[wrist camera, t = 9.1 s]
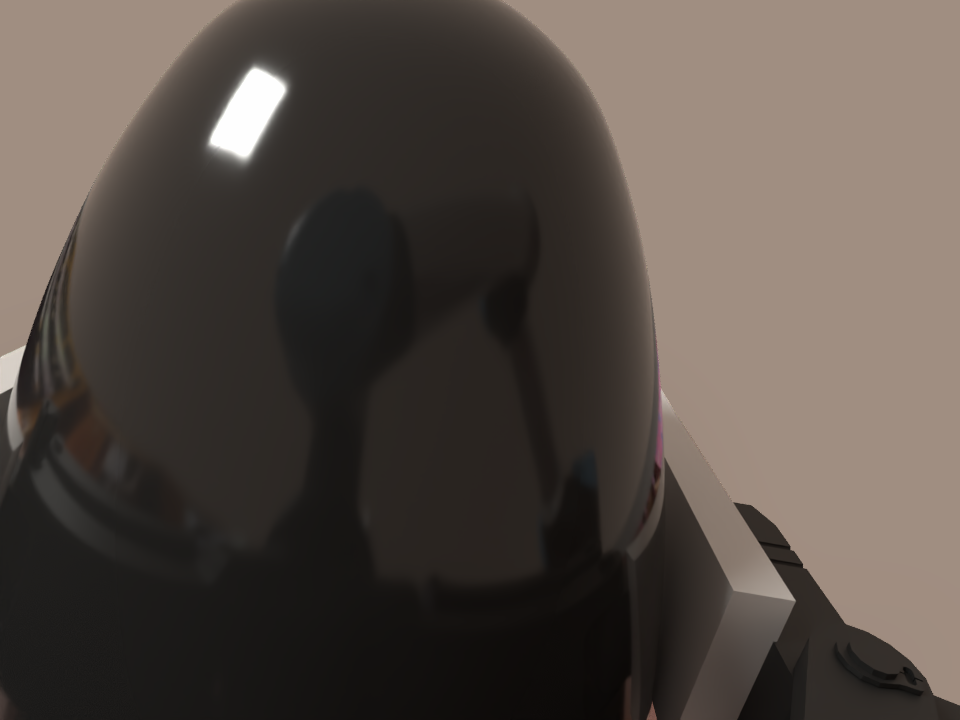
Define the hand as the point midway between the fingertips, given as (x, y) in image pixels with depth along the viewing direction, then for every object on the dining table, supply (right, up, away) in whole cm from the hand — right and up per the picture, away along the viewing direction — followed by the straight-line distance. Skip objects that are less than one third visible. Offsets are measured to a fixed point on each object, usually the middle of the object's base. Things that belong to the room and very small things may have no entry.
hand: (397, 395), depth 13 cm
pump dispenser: (-2, -9, -1) cm, 9 cm away
